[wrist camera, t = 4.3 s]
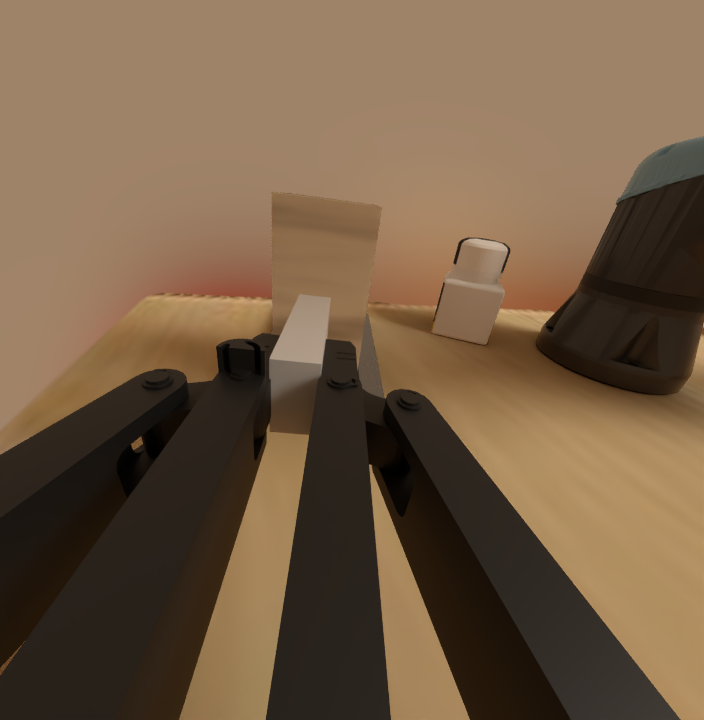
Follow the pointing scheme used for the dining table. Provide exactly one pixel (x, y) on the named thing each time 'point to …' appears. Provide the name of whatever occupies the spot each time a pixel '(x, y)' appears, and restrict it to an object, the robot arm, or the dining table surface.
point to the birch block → (323, 259)
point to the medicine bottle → (472, 291)
